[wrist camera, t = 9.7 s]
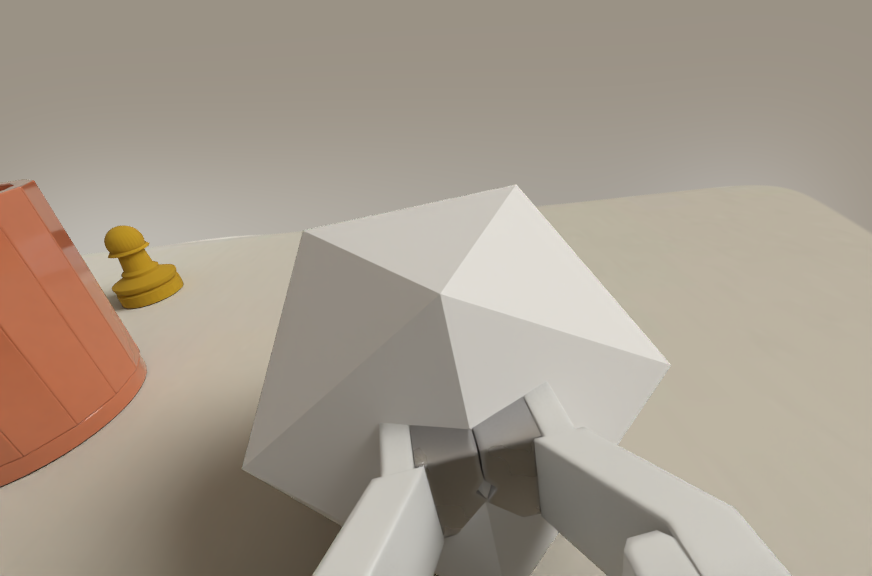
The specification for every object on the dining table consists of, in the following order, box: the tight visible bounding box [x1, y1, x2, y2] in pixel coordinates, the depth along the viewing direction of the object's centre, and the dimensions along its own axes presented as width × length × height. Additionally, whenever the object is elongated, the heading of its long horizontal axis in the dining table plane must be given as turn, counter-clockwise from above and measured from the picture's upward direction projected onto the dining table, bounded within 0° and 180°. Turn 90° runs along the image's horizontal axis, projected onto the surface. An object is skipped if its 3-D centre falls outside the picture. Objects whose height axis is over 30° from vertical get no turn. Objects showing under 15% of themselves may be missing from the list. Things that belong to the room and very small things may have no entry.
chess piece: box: [104, 226, 183, 308], centre depth 29 cm, size 4×4×5 cm
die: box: [242, 185, 671, 576], centre depth 11 cm, size 8×9×10 cm
